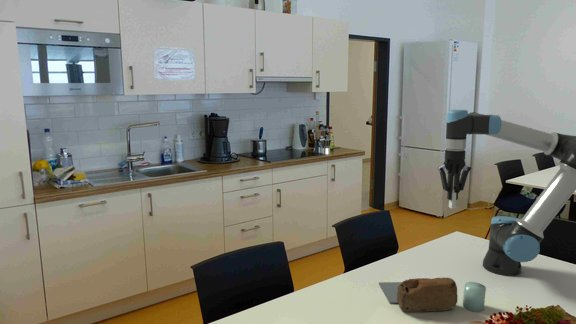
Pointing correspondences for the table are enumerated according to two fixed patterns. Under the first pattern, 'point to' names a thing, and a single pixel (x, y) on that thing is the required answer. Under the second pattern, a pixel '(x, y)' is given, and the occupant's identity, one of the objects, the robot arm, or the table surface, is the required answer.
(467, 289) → the pale blue rounded cylinder
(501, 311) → the table surface
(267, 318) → the table surface
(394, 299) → the mat
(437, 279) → the brown sandstone rock
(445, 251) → the table surface
